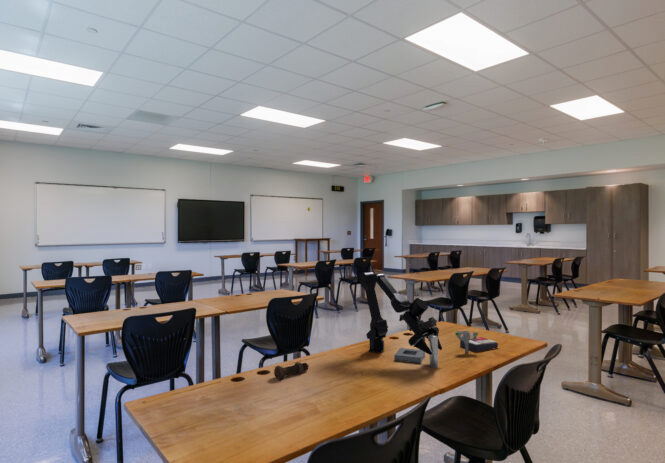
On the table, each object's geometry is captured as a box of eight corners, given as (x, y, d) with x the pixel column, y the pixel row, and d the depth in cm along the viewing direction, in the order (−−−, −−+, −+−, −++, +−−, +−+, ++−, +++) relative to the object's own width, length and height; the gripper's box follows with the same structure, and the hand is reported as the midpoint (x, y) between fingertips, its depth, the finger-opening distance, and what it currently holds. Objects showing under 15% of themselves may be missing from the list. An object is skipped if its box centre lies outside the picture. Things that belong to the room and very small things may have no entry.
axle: (429, 367, 171) (428, 337, 171) (430, 364, 174) (430, 335, 174) (437, 368, 170) (437, 338, 170) (438, 365, 173) (438, 336, 173)
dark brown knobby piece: (307, 375, 169) (278, 383, 159) (301, 367, 172) (272, 374, 162) (312, 365, 167) (282, 372, 157) (306, 356, 170) (276, 363, 160)
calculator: (498, 341, 198) (476, 343, 192) (498, 350, 198) (475, 352, 192) (481, 336, 208) (459, 338, 202) (481, 344, 208) (459, 346, 202)
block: (394, 360, 181) (394, 355, 181) (400, 352, 192) (400, 347, 192) (420, 363, 176) (420, 357, 176) (425, 355, 187) (425, 350, 187)
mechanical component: (478, 353, 190) (478, 332, 190) (457, 353, 190) (456, 332, 190) (476, 351, 193) (475, 330, 193) (455, 351, 193) (454, 331, 193)
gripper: (414, 315, 168) (438, 345, 160) (435, 308, 182) (458, 336, 174) (398, 330, 173) (421, 361, 166) (420, 323, 187) (442, 351, 180)
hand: (436, 351), depth 171 cm, fingers open, 9 cm apart
